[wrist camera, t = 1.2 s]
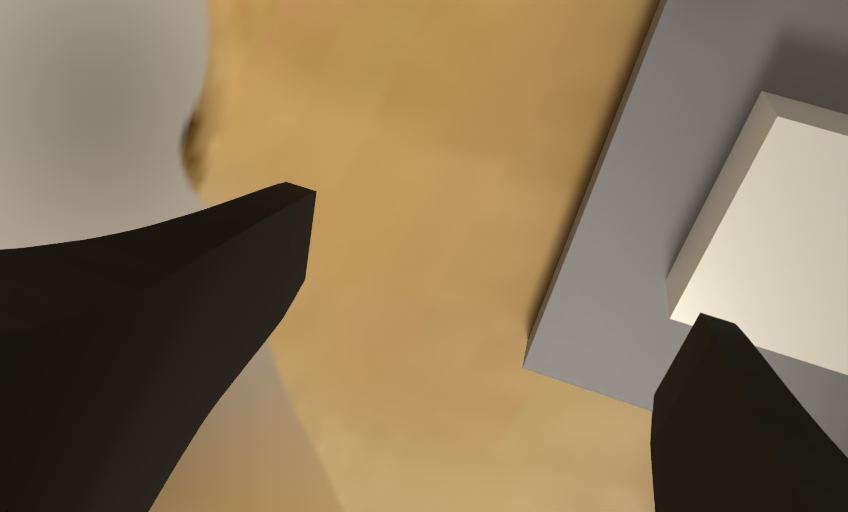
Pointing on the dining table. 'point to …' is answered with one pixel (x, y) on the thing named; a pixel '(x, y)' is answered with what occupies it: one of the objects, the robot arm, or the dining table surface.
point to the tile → (775, 236)
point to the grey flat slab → (681, 192)
